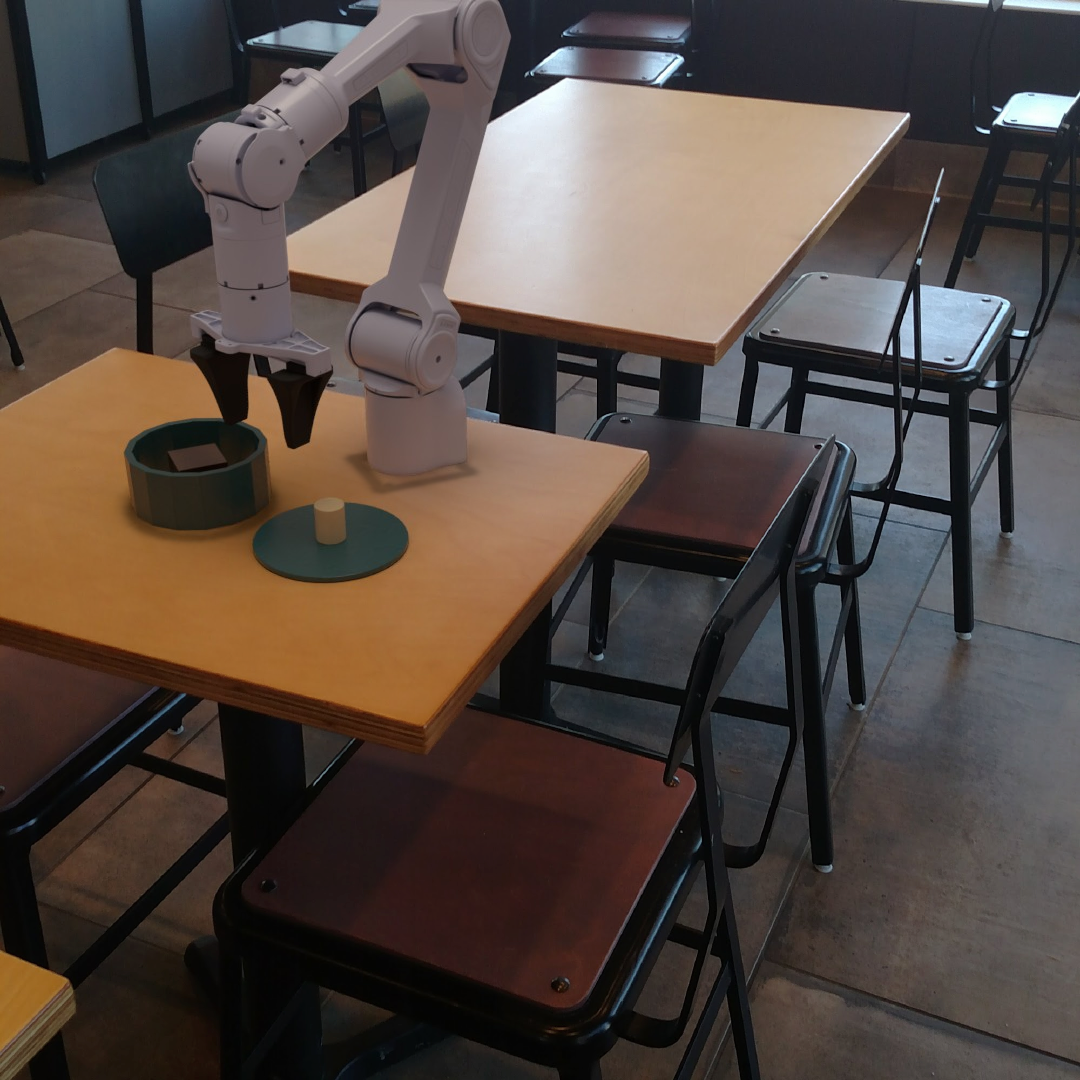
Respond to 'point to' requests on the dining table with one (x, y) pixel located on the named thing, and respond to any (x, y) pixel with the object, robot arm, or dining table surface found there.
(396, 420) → the robot arm
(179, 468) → the block
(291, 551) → the cover
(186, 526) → the container
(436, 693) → the dining table surface
